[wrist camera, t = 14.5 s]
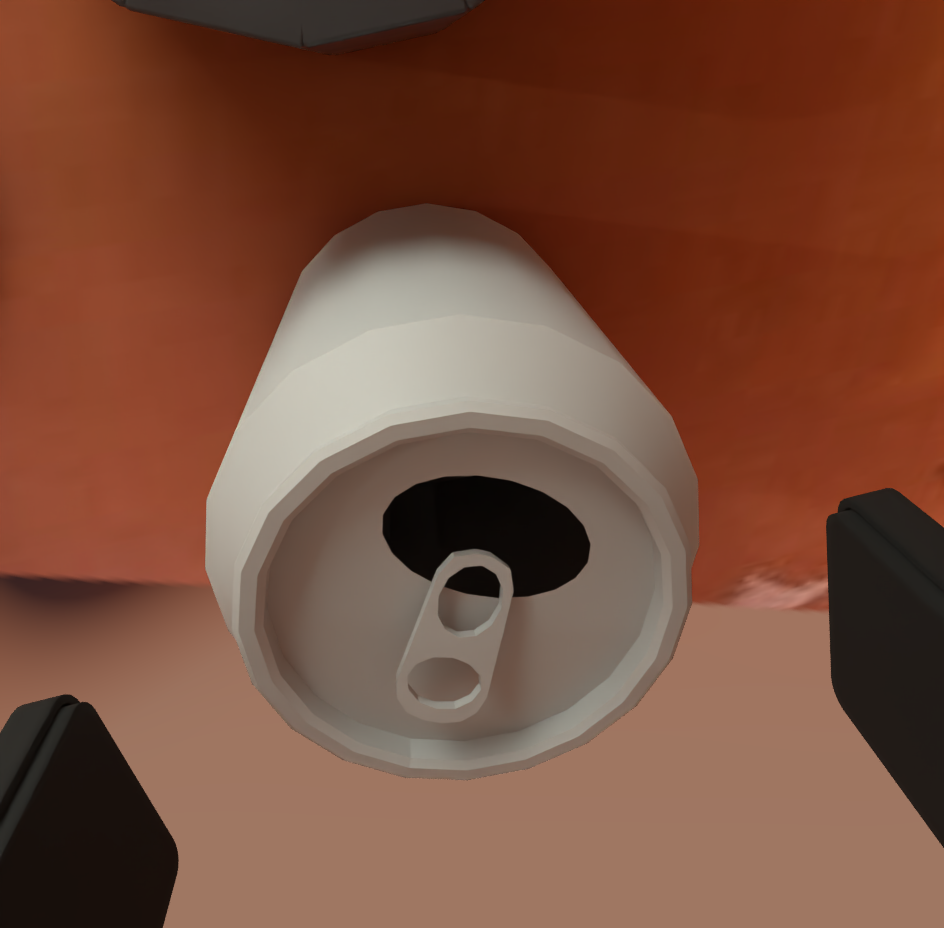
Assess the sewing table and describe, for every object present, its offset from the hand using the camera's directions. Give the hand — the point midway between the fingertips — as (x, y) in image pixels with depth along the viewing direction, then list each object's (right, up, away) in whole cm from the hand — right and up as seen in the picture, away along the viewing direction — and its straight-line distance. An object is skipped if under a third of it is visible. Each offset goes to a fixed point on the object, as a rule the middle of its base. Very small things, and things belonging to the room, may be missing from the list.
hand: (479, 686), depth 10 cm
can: (-1, +6, +11) cm, 13 cm away
